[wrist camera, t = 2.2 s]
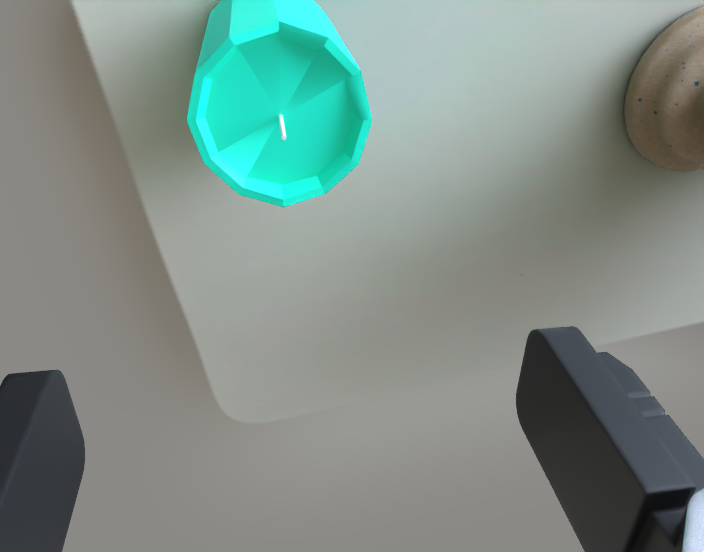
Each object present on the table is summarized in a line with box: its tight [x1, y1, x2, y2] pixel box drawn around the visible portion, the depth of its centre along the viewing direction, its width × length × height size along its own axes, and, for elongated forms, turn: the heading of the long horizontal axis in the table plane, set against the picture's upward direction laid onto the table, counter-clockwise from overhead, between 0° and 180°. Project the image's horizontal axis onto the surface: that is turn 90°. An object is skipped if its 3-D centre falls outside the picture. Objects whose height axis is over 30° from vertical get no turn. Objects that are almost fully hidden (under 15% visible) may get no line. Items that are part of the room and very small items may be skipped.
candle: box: [187, 0, 372, 207], centre depth 24 cm, size 6×6×12 cm
